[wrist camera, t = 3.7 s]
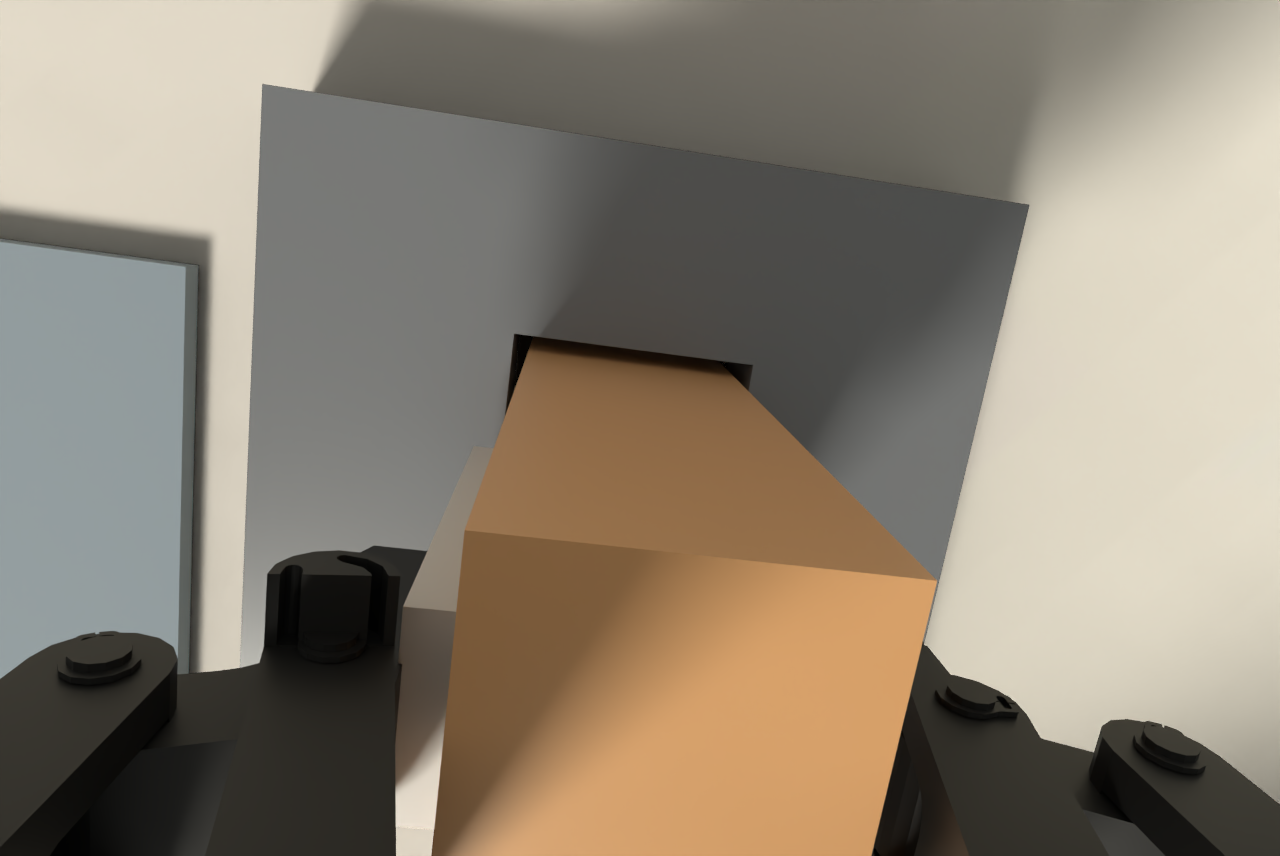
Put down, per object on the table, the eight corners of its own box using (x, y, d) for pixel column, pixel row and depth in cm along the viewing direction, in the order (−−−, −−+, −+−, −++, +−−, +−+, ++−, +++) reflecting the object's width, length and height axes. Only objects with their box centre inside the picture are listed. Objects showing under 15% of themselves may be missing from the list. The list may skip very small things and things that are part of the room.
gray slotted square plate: (969, 206, 18) (1029, 204, 16) (843, 769, 22) (877, 838, 19) (306, 102, 17) (262, 83, 15) (275, 722, 20) (234, 791, 18)
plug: (714, 357, 19) (937, 580, 7) (674, 604, 20) (806, 1126, 9) (534, 333, 18) (463, 529, 7) (505, 588, 20) (405, 1111, 8)
